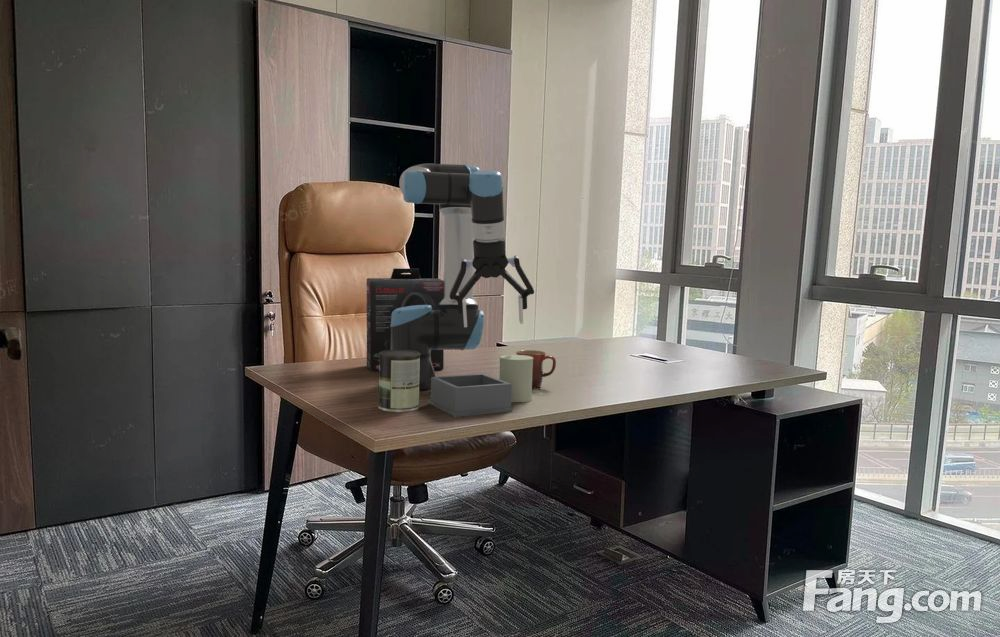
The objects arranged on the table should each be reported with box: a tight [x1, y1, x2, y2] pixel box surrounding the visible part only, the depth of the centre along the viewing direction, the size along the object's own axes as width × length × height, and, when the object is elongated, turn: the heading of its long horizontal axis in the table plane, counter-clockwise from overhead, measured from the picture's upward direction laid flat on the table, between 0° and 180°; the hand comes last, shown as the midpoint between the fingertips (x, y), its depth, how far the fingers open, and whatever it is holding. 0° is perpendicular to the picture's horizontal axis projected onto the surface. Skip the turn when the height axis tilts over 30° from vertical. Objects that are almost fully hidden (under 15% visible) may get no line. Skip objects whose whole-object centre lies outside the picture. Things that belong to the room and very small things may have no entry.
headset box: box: [366, 267, 445, 372], centre depth 241 cm, size 25×12×33 cm, turn 106°
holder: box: [428, 373, 514, 418], centre depth 187 cm, size 16×16×7 cm
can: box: [499, 354, 533, 403], centre depth 198 cm, size 9×9×12 cm
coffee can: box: [377, 350, 420, 413], centre depth 184 cm, size 10×10×14 cm
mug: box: [515, 349, 557, 389], centre depth 216 cm, size 12×9×10 cm
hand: (493, 323), depth 178 cm, fingers open, 13 cm apart
